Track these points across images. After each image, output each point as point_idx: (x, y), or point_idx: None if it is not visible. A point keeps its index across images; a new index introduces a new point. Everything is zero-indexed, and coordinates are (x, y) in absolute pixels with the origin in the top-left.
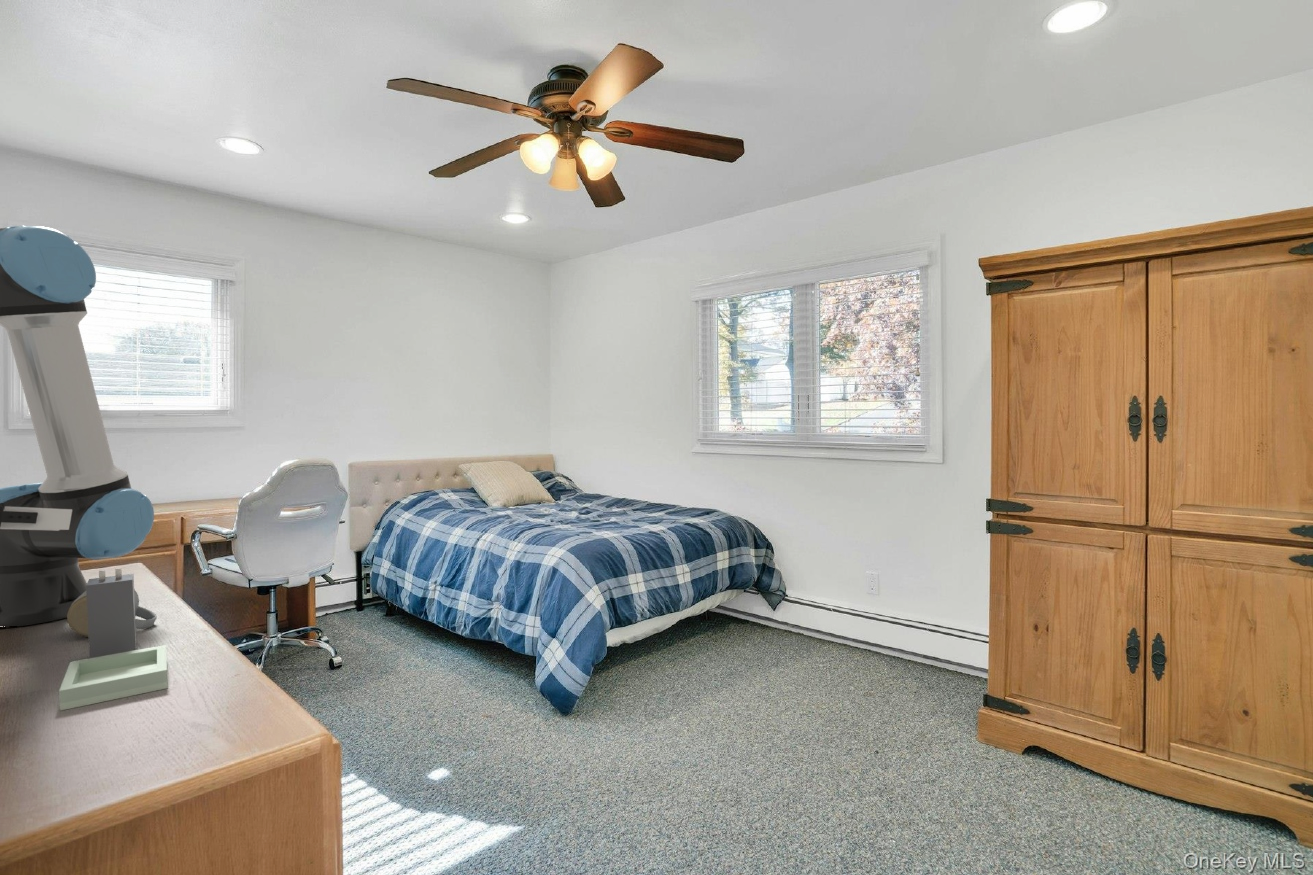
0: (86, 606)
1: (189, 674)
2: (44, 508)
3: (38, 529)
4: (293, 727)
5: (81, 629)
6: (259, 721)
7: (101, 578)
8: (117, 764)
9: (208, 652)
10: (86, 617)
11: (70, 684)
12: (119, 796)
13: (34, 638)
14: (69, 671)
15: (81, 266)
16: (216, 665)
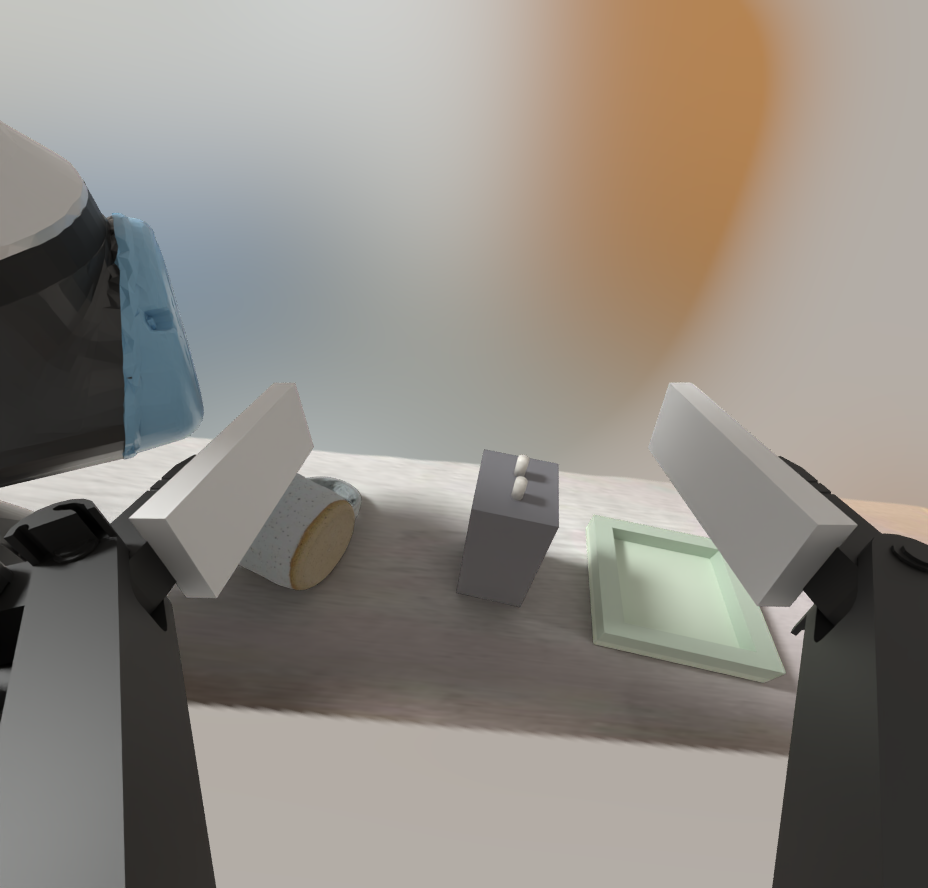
0: (319, 544)
1: (668, 526)
2: (740, 426)
3: (289, 483)
4: (901, 512)
5: (319, 577)
6: (877, 525)
7: (523, 494)
8: None
9: (576, 488)
10: (321, 557)
11: (753, 653)
12: None
13: (187, 654)
14: (671, 643)
15: None
16: (646, 498)
